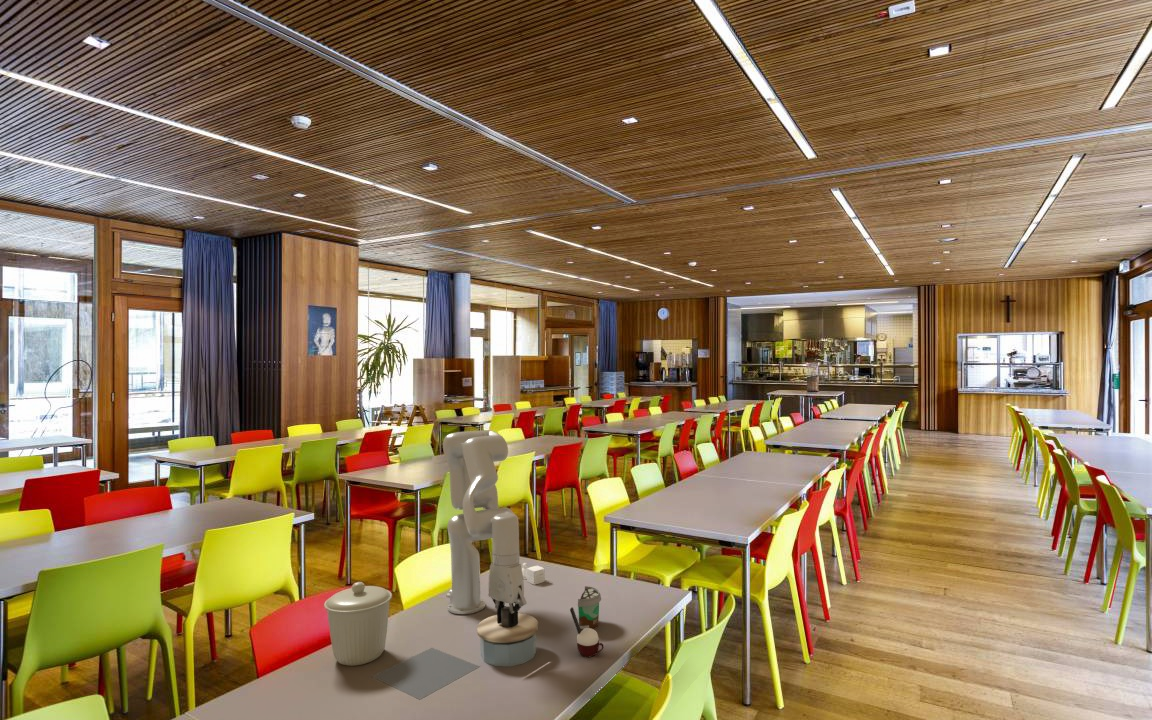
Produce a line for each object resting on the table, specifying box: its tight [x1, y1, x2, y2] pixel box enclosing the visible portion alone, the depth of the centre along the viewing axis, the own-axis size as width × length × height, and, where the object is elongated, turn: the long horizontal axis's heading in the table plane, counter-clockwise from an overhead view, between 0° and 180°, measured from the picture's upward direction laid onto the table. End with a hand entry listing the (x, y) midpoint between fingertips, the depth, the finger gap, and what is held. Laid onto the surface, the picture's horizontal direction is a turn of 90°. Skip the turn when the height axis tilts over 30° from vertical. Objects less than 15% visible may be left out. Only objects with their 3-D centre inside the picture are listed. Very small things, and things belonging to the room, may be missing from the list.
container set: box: [520, 562, 546, 585], centre depth 235 cm, size 20×5×6 cm, turn 37°
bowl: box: [479, 632, 537, 667], centre depth 170 cm, size 15×15×6 cm
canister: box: [323, 581, 393, 667], centre depth 171 cm, size 18×18×21 cm
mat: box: [371, 647, 481, 701], centre depth 161 cm, size 20×20×1 cm
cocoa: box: [569, 607, 605, 658], centre depth 170 cm, size 10×6×12 cm, turn 46°
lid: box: [476, 606, 539, 643], centre depth 171 cm, size 17×17×6 cm
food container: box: [577, 585, 602, 631], centre depth 189 cm, size 12×6×10 cm, turn 168°
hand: (507, 623), depth 171 cm, fingers open, 3 cm apart
